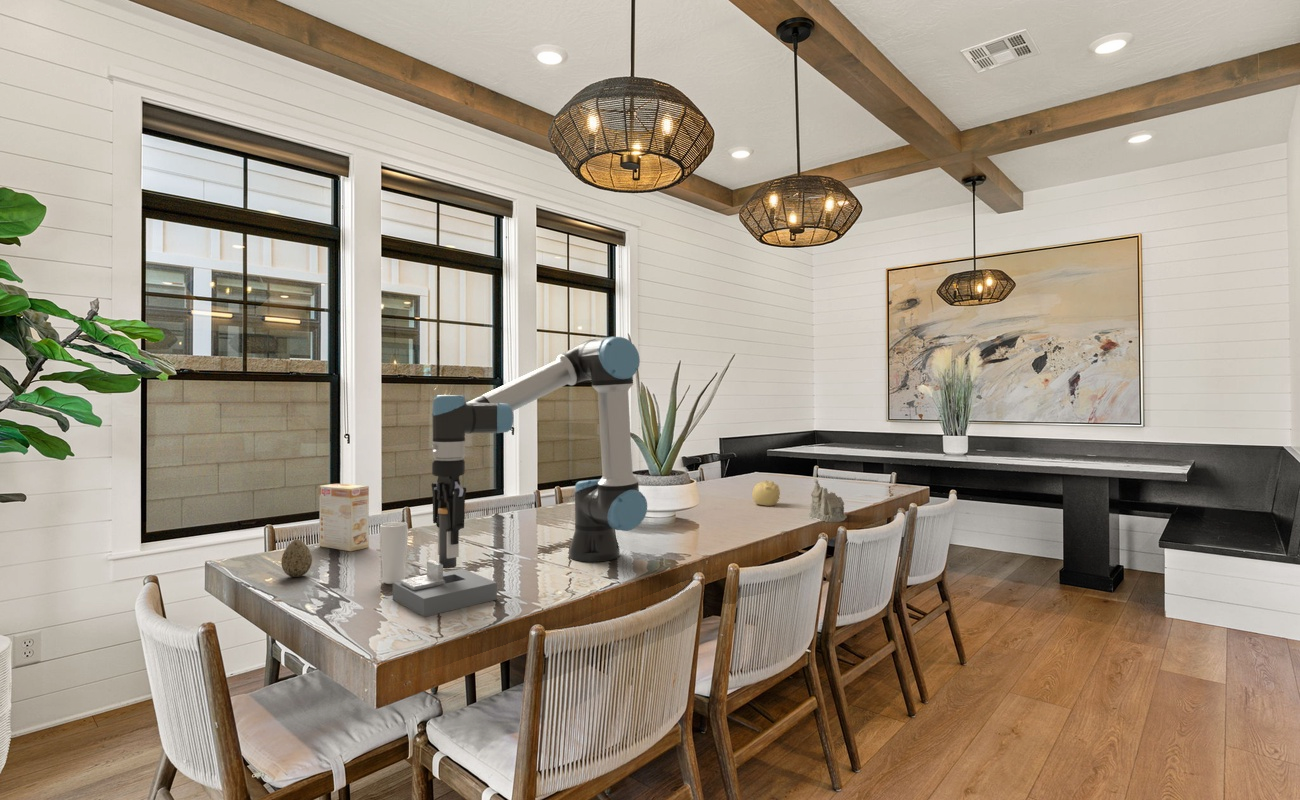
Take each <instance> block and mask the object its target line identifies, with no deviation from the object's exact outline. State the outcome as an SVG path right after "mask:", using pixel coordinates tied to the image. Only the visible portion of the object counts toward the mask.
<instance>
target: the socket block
mask: <svg viewBox="0 0 1300 800" xmlns="http://www.w3.org/2000/svg"><path fill="white" fill-rule="evenodd" d="M443 580H445V584H442V585H437V586H432V587H428V588H423V589H418V590H412V589H410V588H408V587H407V586H405V585H403V584H401V583H400V581H397V582H393V584H392V600H393V601H395V602H397V603H398V604H400V605H401V606H404V607H406V608H408V609H410V610H411V611H413V612H414V613H416V614H418V615H420V616H421V617H423V618H424V617H430V616H435V615H438V614H442V613H446V612H451V611H455V610H459V609H462V608H467V607H470V606H476V605H479V604H482V603H483V604H484V603H488V602H491V601H495V600H498V582H497V581H494V580H492V579H489V578H487V577H484V576H482V575H479V574H477V573H474V572H472V571H470V570H467V569H465V568H458V569H453V570H447V571H443Z"/></svg>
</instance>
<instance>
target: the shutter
mask: <svg viewBox="0 0 1300 800" xmlns="http://www.w3.org/2000/svg"><path fill="white" fill-rule="evenodd" d="M443 572H444V568H443V564H440V563H439V561H435V560H433V559H429V560H426V574H423V575H420V576H419V575H418V576H415V577H414V576H413V577H409V578H405V579H403V580H400V583H401V584H403V585H405V586H407V587H408V588H410V589H412V590H418V589H423V588H428V587H432V586H437V585H442V584H445V580H443Z"/></svg>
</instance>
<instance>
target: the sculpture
mask: <svg viewBox="0 0 1300 800" xmlns="http://www.w3.org/2000/svg"><path fill="white" fill-rule="evenodd" d="M751 494H752V495H751V496H752V500H753V502H754V503H755V504H756V505H761V506H766V507H773V506H775V505H777V504H778V502H779V500H780V496H781V491H780V487H779V485H778V484H776V483H775V482H774V481H772V480H771V481H770V480H765V481H760V482H758V483H756V484H755V485H754V487H753V489H752V493H751Z"/></svg>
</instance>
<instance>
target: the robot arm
mask: <svg viewBox="0 0 1300 800" xmlns="http://www.w3.org/2000/svg"><path fill="white" fill-rule="evenodd" d="M640 361H641V360H640V354H639V351H638V349H637V348H636V346H635V345H634V344H633V342H631V340H629V339H628V338H626V337H622V336H607V337H601V338H594V339H589V340H585V341H584V342H581V343H580V344H578V345H576V346H574V347H573V348H570V349H569V350H567V351H565V352H563V353H561V354H559V355H557V357H556V359H555V360H554V361H552V362H549V363H547V364H546V365H544V366H542V367H539V368H537V369H535V370H533V371H530V372H528V373H527V374H525V375H522V376H520V377H518V378H516V379H514V380H512V381H509V382H508V383H505V384H504V385H501V386H498V387H497V388H495V389H492V390H491V391H488V392H485V393H484V394H482V395H479V396H478V397H475V398H474V399H471V400H469V401H466V398H465V396H464V395H462V394H457V395H456V394H451V395H450V394H438V395H435V396H434V398H433V399H432V412H431V417H432V419H431V420H432V422H431V423H432V445H431V447H430V448H431V449H430V450H432V458H433V460H432V462H431V467H432V468H431V469H432V470H431V473H432V474H431V475H432V476H434V477H437V480H436V482H432V483H431V491H432V492H431V493H432V523H433V524H435V525H436V528H437V555H438V556H439V513H438V508H444V507H447V510H448V526H449V529H446V531H447V558H448V559H449V558H455V557H456V558H458V557H459V555H460V554H459V552H460V551H459V550H460V549H459V548H460V546H459V545H460V542H459V541H460V540H459V539H460V538H459V537H460V535H459V533H460V532H459V531H460V530H461V529H464V528H465V511H466V510H465V508H466V503H465V502H466V494H467V488H466V487H462V486H461V481H460V476H463V475H465V473H466V470H465V469H466V468H465V467H466V462H465V459H463V458H465V456H466V434H500V433H501V434H503V433H508V432H510V431H511V430H512V428H513V425H514V411H515V410H519V409H520V408H522V407H524V406H526V405H528V404H530V403H532V402H534V401H535V400H538V399H540V398H542V397H544V396H546V395H549V394H550V393H552V392H554V391H556V390H558V389H560V388H563V387H564V386H566V385H568V386H575V385H576V384H579V383H581V382H584V381H591V387H592V388H593V389H594V390H595V391H596V393H597V402H598V404H597V405H598V421H599V422H598V423H599V436H600V437H599V439H600V455H601V458H600V461H601V472H602V473H601V474H602V476H601V478H597V479H586V480H579V481H577V482H576V483H575V487H574V533H573V536H572V539H571V543H570V547H569V548H568V550H569V551H568V556H569V559H571V560H574V561H578V562H590V563H591V562H594V563H595V562H606V561H608V562H609V561H613V560H615V559H617V558H619V557H620V555H621V554H620V545H619V542H618V539H617V536H616V533H615V530H616V531H622V532H623V531H624V532H625V531H626V532H627V531H632V530H634V529H636V528H637V527H639V526H640V525H641V523H642V522H643V521H644V519H645V517H646V515H647V512H648V501H647V498H646V497H645V495H644V494H643V493H642V492H641V491H640V488H639V487H640V486H639V479H638V478H637V477H636V476H635V475H634V473H633V458H632V455H633V454H632V441H631V438H632V437H631V436H632V435H631V421H630V420H631V418H630V417H631V416H630V405H629V404H630V401H629V390H630V389H631V388H632V386H633V385H634V375H635V374H636V373H637V371H638V370H639V367H640Z"/></svg>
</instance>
